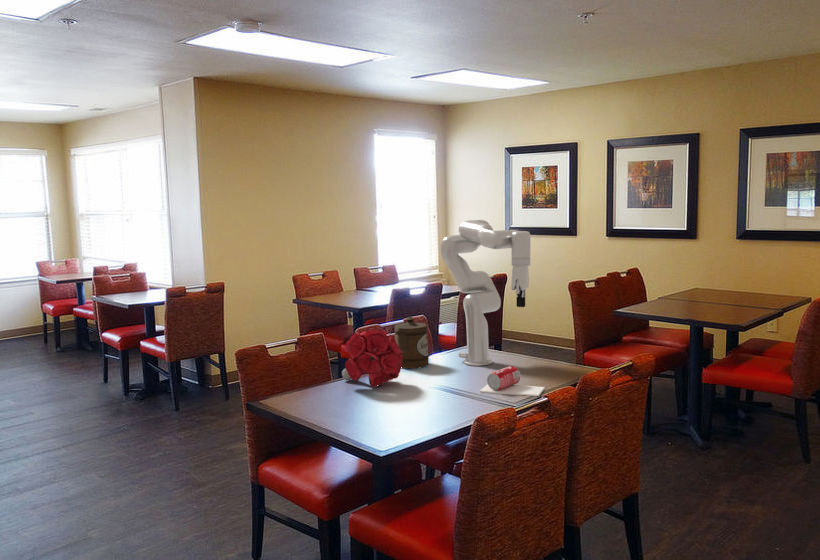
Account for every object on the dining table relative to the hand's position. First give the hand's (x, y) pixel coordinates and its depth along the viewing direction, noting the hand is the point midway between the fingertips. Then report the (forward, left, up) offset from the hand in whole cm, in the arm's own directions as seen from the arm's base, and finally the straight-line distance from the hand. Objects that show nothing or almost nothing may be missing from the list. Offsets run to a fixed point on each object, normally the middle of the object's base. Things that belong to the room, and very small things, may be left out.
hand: (520, 306), depth 268 cm
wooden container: (-52, +6, -29) cm, 60 cm away
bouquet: (-55, -29, -29) cm, 68 cm away
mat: (+2, -24, -28) cm, 37 cm away
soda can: (+1, -16, -24) cm, 29 cm away
